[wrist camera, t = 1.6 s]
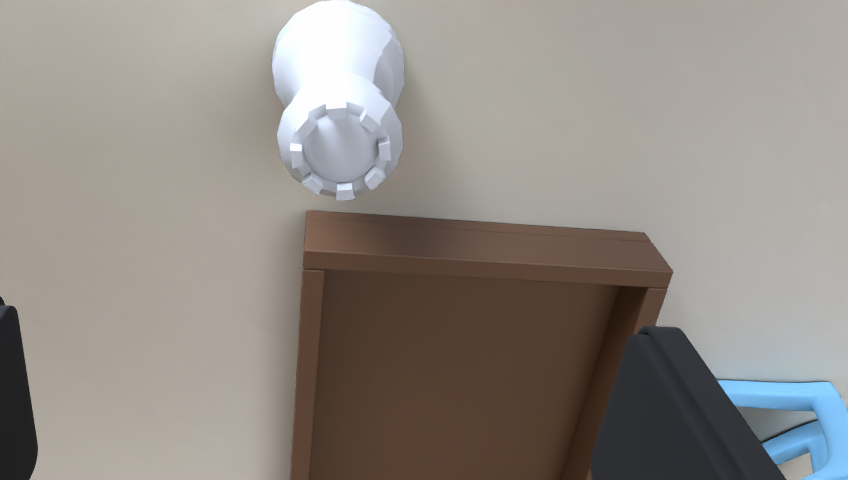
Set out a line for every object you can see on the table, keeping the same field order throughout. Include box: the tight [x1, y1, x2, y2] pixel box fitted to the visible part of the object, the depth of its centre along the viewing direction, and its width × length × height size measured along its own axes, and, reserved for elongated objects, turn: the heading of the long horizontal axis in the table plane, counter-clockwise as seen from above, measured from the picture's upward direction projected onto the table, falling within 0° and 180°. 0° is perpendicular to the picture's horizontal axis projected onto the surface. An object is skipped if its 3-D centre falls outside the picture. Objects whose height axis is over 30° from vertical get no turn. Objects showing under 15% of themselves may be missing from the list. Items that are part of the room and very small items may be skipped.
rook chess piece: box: [272, 0, 404, 201], centre depth 22 cm, size 4×4×8 cm
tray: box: [290, 211, 673, 480], centre depth 32 cm, size 18×14×3 cm
